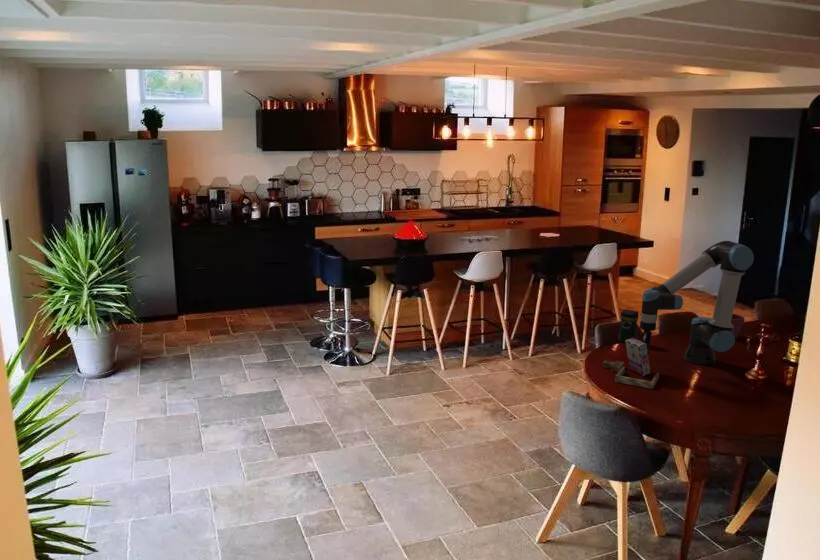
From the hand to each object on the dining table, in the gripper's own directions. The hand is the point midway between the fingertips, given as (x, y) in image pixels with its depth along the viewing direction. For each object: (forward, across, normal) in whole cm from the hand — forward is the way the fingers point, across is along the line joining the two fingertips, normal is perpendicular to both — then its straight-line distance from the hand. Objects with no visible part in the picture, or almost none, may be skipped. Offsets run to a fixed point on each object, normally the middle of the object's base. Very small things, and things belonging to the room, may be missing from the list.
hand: (643, 366), depth 344 cm
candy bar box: (+2, +4, -1) cm, 4 cm away
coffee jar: (+2, -44, -18) cm, 48 cm away
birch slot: (+2, +15, 0) cm, 16 cm away
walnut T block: (+2, +5, -14) cm, 15 cm away
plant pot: (+2, -88, +30) cm, 93 cm away
